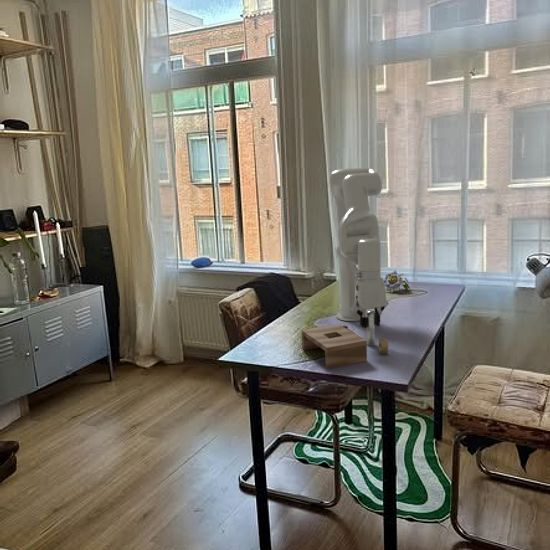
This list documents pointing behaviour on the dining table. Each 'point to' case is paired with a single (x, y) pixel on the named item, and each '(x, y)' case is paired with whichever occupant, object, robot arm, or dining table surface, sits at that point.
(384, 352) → the short pin
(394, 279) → the passion flower
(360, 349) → the hole stand
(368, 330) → the long pin
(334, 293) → the dining table surface
